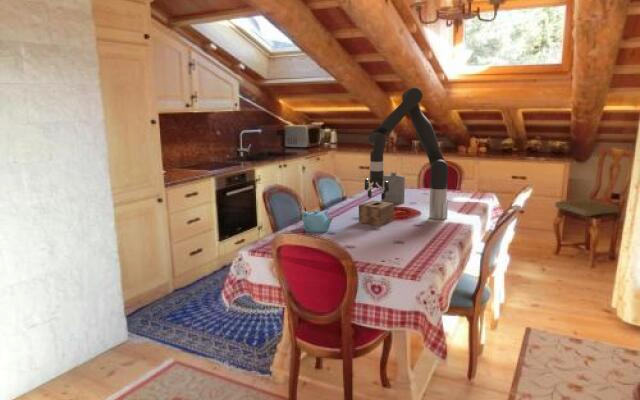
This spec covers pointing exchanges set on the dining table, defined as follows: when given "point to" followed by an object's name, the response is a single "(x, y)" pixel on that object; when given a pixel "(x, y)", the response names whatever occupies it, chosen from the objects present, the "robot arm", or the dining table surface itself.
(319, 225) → the teapot
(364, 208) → the box
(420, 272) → the dining table surface
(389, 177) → the hip flask
